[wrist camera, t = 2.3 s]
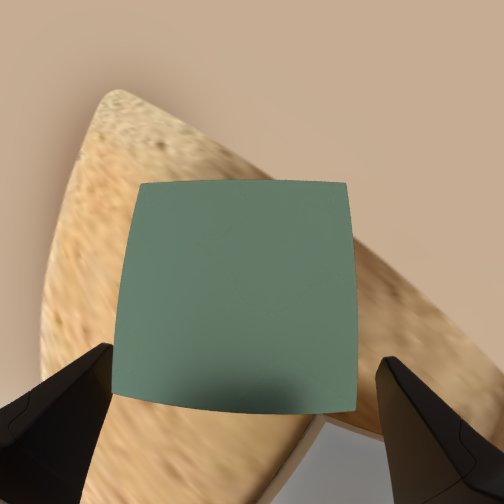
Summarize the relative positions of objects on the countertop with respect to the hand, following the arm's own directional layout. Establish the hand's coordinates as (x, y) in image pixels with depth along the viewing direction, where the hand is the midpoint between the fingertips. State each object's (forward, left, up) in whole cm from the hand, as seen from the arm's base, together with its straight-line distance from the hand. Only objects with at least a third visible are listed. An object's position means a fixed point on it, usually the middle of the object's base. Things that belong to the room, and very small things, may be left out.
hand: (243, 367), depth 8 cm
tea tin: (+2, +1, -9) cm, 10 cm away
